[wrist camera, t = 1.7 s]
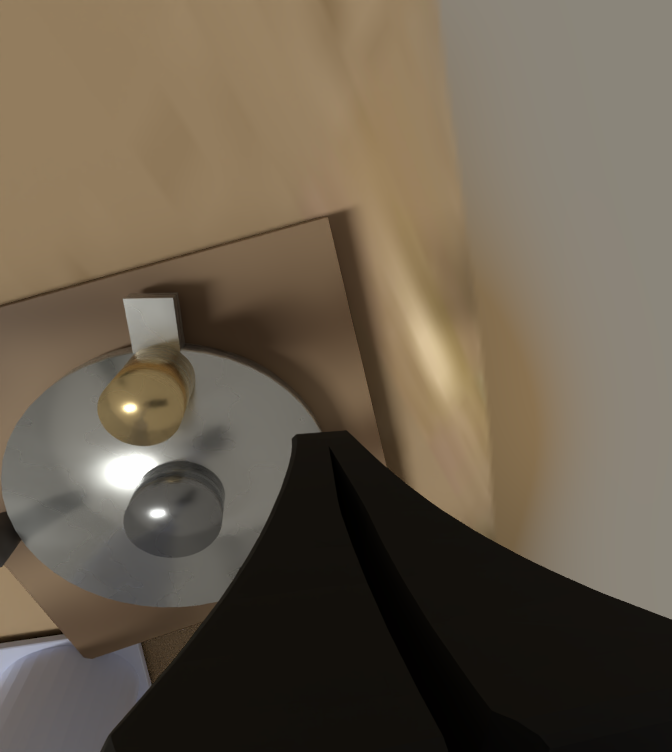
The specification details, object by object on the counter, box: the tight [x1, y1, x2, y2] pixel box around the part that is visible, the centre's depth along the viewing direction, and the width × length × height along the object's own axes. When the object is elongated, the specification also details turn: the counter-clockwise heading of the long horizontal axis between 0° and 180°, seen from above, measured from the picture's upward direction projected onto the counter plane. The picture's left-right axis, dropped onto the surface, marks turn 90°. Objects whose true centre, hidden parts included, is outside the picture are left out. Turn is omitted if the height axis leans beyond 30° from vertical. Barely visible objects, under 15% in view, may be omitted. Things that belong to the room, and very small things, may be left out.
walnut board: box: [0, 217, 387, 659], centre depth 18 cm, size 18×18×3 cm
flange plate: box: [1, 292, 322, 607], centre depth 16 cm, size 15×13×4 cm
